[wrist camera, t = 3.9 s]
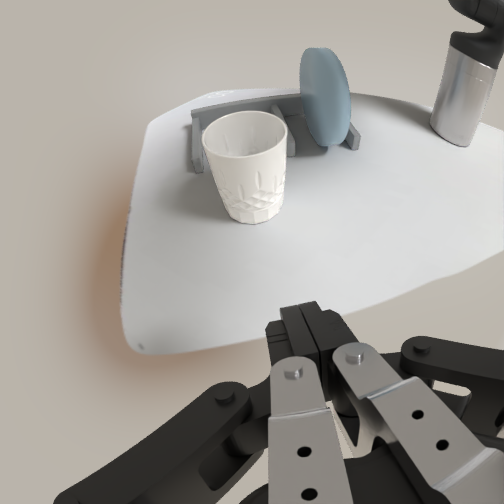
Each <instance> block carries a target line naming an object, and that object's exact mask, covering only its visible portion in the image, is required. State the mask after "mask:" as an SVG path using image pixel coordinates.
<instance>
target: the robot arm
mask: <svg viewBox="0 0 504 504" xmlns="http://www.w3.org/2000/svg"><path fill="white" fill-rule="evenodd" d="M448 1H449V3H450V5H451V6H452V7H453V8H454V9H455V10H456V11H458V12H459V13H461V14H463V15H464V16H466V17H468V18H470V19H472V20H475V21H476V22H478V23H480V24H482V25H484V26H485V27H484V29H483V31H481V32H478V33H465V32H457V31H455V32H453V33H452V34H451V38H450V44H449V50H448V54H447V59H446V64H445V68H444V73H443V76H442V80H441V84H440V87H439V91H438V95H437V99H436V102H435V105H434V108H433V111H432V115H431V118H430V125H431V127H432V128H433V129H434V130H435V131H436V132H437V133H438V134H439V135H440V136H441V137H443V138H444V139H446V140H448V141H449V142H451V143H453V144H456V145H459V146H463V147H464V146H469V145H470V143H471V140H472V138H473V136H474V133H475V131H476V129H477V126H478V124H479V122H480V119H481V116H482V114H483V111H484V109H485V106H486V103H487V100H488V97H489V94H490V91H491V89H492V86H493V82H494V78H495V76H496V72H497V69H498V65H499V62H500V60H501V58H502V56H503V53H504V0H448ZM280 315H281V320H278V321H272V322H269V324H268V325H267V327H266V329H265V331H266V337H267V342H268V348H269V354H270V360H271V366H272V368H271V371H270V375H269V376H268V378H267V379H265V380H264V381H263V382H261V383H260V384H258V385H255V386H253V387H250V388H248V389H247V388H246V386H244V385H243V384H241V383H238V382H222V383H218V384H216V385H213V386H211V387H210V388H209V389H207V390H206V391H205V392H203V393H202V394H201V395H200V396H199V397H197V398H196V399H195V400H194V401H193V402H191V403H190V404H189V405H188V406H186V407H185V408H184V409H183V410H181V411H180V412H179V413H177V414H176V415H175V416H174V417H172V418H171V419H170V420H168V421H167V422H166V423H165V424H163V425H162V426H161V427H159V428H158V429H157V430H156V431H154V432H153V433H151V434H150V435H149V436H147V437H146V438H144V439H143V440H142V441H140V442H139V443H138V444H136V445H135V446H133V447H132V448H130V449H129V450H128V451H126V452H125V453H123V454H122V455H120V456H119V457H117V458H116V459H114V460H113V461H112V462H110V463H108V464H107V465H106V466H104V467H102V468H101V469H100V470H98V471H96V472H95V473H93V474H91V475H90V476H88V477H87V478H85V479H83V480H82V481H80V482H78V483H77V484H75V485H73V486H72V487H70V488H68V489H66V490H65V491H63V492H61V493H60V494H59V495H58V496H57V497H56V499H55V500H54V503H53V504H216V503H217V502H218V501H219V500H220V499H221V498H222V497H223V496H224V495H225V494H226V493H227V492H228V491H229V490H230V489H231V488H232V487H233V486H234V485H235V484H236V483H237V482H238V481H239V480H240V479H241V478H242V477H243V476H244V474H245V473H246V472H247V471H248V470H249V469H250V468H251V467H252V465H254V463H255V462H256V461H257V460H258V459H259V458H260V456H261V455H262V454H263V452H264V449H265V448H268V453H269V454H268V457H269V460H268V470H269V483H267V484H265V485H263V486H262V487H260V488H258V489H256V490H255V491H253V492H252V493H251V494H249V495H248V496H247V497H246V498H244V499H243V500H242V501H241V502H240V503H239V504H504V350H498V349H492V348H486V347H480V346H474V345H469V344H463V343H458V342H453V341H448V340H442V339H437V338H432V337H427V336H416V337H412V338H410V339H408V340H406V341H405V342H404V343H403V345H402V347H401V352H396V353H387V354H379V353H378V352H377V351H376V350H375V349H374V348H373V347H372V346H370V345H368V344H365V343H359V341H358V340H357V338H356V337H355V336H354V334H353V333H352V331H351V330H350V329H349V327H347V324H346V323H345V322H344V321H343V319H342V318H341V316H340V315H339V314H338V313H336V312H334V311H332V310H330V309H329V310H325V311H322V310H321V309H320V307H319V305H318V304H317V302H316V301H312V302H308V303H303V304H298V305H293V306H288V307H283V308H280ZM435 380H437V381H441V382H445V383H449V384H454V385H459V386H462V387H466V388H468V389H469V390H470V391H471V393H470V394H469V395H467V396H457V395H454V394H449V393H445V392H441V391H437V390H433V385H434V381H435ZM331 400H332V403H333V405H334V418H335V420H336V422H337V424H338V426H339V428H340V430H341V432H342V434H343V436H344V438H345V440H346V442H347V444H348V446H349V448H350V450H351V452H352V454H353V457H354V458H349V459H343V456H342V452H341V448H340V443H339V439H338V436H337V431H336V428H335V424H334V420H333V416H332V412H331V409H330V408H329V407H328V408H327V407H326V403H325V402H327V401H331Z"/></svg>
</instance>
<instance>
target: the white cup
mask: <svg viewBox="0 0 504 504" xmlns="http://www.w3.org/2000/svg"><path fill="white" fill-rule="evenodd" d="M201 140H202V145H203V148H204V151H205V154H206V156H207V159H208V162H209V165H210V168H211V171H212V174H213V177H214V180H215V183H216V185H217V188H218V191H219V193H220V196H221V198H222V200H223V203H224V206H225V209H226V210H227V212H228V213H229V215H230V216H231V218H233V219H235V220H237V221H239V222H241V223H248V224H258V223H261V222H265V221H268V220H270V219H271V218H272V217H274V216H275V215H276V214H278V213H279V210H280V208H281V206H282V204H283V190H284V185H285V173H286V155H287V126H286V124H285V123H284V122H283V121H282V120H281V119H280V118H278V117H277V116H275V115H273V114H270V113H266V112H261V111H241V112H235V113H231V114H228V115H225V116H223V117H220V118H219V119H217V120H215V121H214V122H212V123H211V124H210V125H209V126H208V127H207V128H206V129H205V130H204V132H203V134H202V139H201Z"/></svg>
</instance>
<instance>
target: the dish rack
mask: <svg viewBox="0 0 504 504" xmlns="http://www.w3.org/2000/svg"><path fill="white" fill-rule="evenodd" d="M300 92H301V93H299V94H288V95H278V96H269V97H261V98H254V99H247V100H241V101H235V102H229V103H223V104H218V105H213V106H208V107H203V108H199V109H194V110H191V116H192V162H193V165H194V169H195V172H196V173H201V172H203V152H202V140H201V139H202V129H206V128H207V127H208V126H209V125H210V124H211V123H212V122H214V121H215V120H217V119H219V118H220V117H223V116H225V115H228V114H231V113H235V112H241V111H261V112H266V113H270V114H273V115H275V116H277V117H278V118H280V119H281V120H282V121H283V122H284V123H285V124H286V126H287V123H286V121H285V119H284V117H283V116H289V115H298V114H305V118H306V122H307V125H308V127H309V130H310V132H311V134H312V136H313V138H314V140H315V141H316V142H317V143H318V144H319V145H320V146H331V145H339V144H341V143H342V142H343V141H344V139H345V140H346V142H347V143H348V145H349V146H350V148H351V149H352V150H358V147H359V142H360V137H361V136H360V134H359V133H358V131H357V130H356V129H355V127H354V126H353V125H352V124H351V122H350V117H351V100H350V92H349V86H348V81H347V78H346V74H345V71H344V69H343V66H342V64H341V62H340V60H339V59H338V57H337V56H336V55H335V54H334V52H332V51H331V50H330V49H328V48H308V49H306V50H305V51H304V53H303V55H302V58H301V63H300ZM287 156H288V157H292V156H295V140H294V138H293V136H292V134H291V132H290V130H289V128H288V126H287Z"/></svg>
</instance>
